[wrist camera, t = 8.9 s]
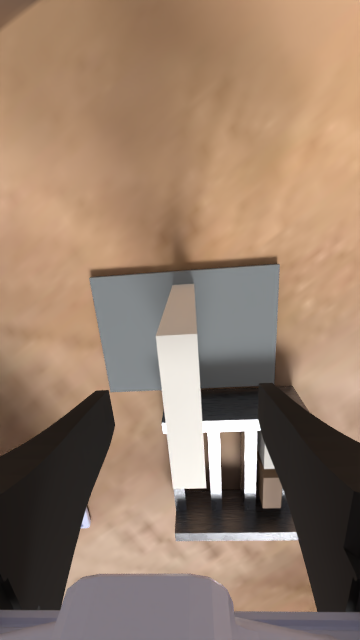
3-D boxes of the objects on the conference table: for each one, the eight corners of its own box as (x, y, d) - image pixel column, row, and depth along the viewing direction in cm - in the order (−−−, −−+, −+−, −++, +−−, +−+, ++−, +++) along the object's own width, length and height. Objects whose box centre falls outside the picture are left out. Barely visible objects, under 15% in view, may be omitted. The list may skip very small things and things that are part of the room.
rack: (177, 498, 27) (175, 541, 24) (166, 391, 23) (161, 423, 19) (284, 496, 27) (299, 539, 23) (292, 386, 23) (312, 417, 19)
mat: (112, 388, 23) (110, 392, 23) (91, 277, 20) (89, 278, 20) (272, 381, 22) (274, 385, 22) (277, 263, 19) (279, 264, 19)
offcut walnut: (254, 478, 26) (262, 508, 23) (255, 449, 25) (263, 477, 22) (271, 477, 26) (280, 508, 23) (272, 449, 25) (282, 477, 22)
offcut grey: (255, 441, 25) (264, 468, 22) (256, 409, 24) (265, 434, 21) (272, 441, 25) (283, 468, 22) (274, 409, 23) (285, 433, 21)
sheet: (180, 378, 22) (173, 488, 13) (172, 285, 20) (155, 336, 10) (199, 377, 22) (206, 488, 13) (193, 283, 19) (197, 333, 10)
